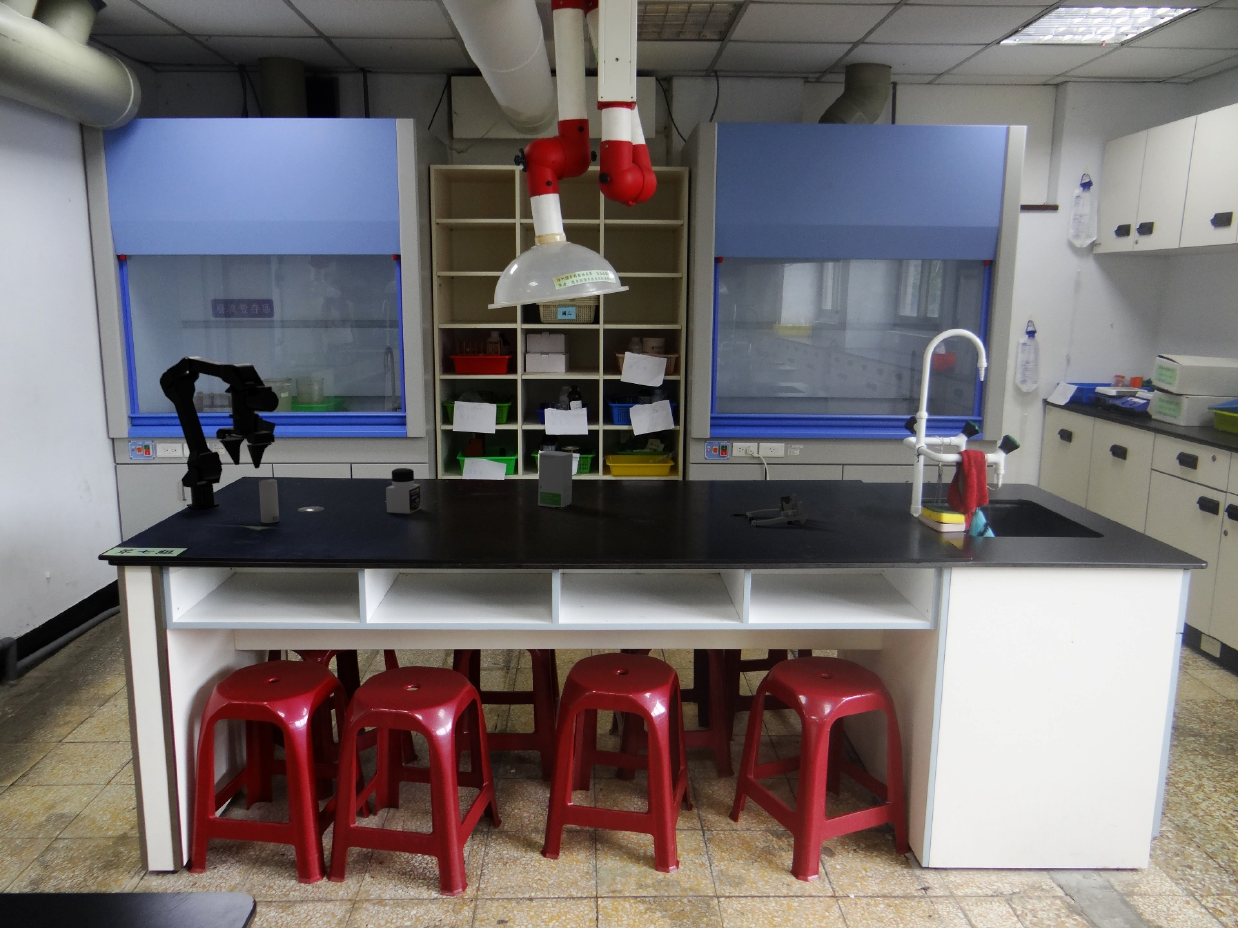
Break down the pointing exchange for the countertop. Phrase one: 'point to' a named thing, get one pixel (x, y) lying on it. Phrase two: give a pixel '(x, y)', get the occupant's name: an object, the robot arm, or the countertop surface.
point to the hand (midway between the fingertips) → (247, 466)
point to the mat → (256, 527)
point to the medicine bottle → (403, 492)
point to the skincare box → (555, 478)
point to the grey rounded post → (269, 501)
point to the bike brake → (785, 508)
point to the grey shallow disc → (310, 509)
